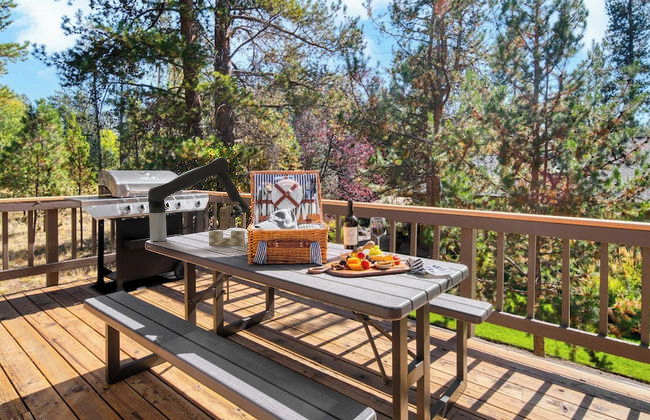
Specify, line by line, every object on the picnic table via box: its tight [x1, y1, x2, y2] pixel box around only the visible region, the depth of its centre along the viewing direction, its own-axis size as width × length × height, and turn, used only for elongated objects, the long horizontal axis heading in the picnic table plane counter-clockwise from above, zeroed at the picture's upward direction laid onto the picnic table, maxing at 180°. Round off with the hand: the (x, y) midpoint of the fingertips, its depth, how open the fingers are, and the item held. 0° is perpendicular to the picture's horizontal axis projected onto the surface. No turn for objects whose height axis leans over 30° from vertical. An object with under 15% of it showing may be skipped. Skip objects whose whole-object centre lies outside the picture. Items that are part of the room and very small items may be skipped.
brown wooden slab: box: [219, 204, 234, 231], centre depth 240 cm, size 18×3×12 cm, turn 179°
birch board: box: [208, 230, 246, 246], centre depth 241 cm, size 20×2×8 cm, turn 89°
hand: (228, 214), depth 243 cm, fingers closed on brown wooden slab, 3 cm apart
